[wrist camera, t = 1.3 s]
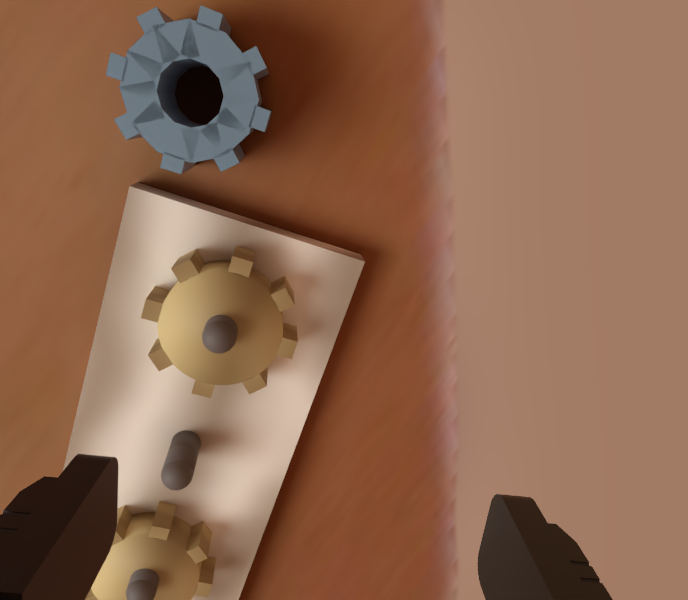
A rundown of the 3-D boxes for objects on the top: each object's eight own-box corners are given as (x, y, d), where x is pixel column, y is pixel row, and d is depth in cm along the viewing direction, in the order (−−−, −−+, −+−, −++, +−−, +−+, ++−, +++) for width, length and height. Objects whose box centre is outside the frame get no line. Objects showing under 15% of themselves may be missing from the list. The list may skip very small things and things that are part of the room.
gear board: (43, 577, 34) (4, 653, 30) (137, 182, 27) (106, 197, 22) (229, 609, 37) (221, 684, 32) (361, 254, 30) (376, 282, 25)
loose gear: (118, 139, 26) (91, 144, 23) (150, -4, 25) (126, -25, 21) (250, 184, 28) (245, 195, 24) (289, 51, 26) (291, 41, 22)
